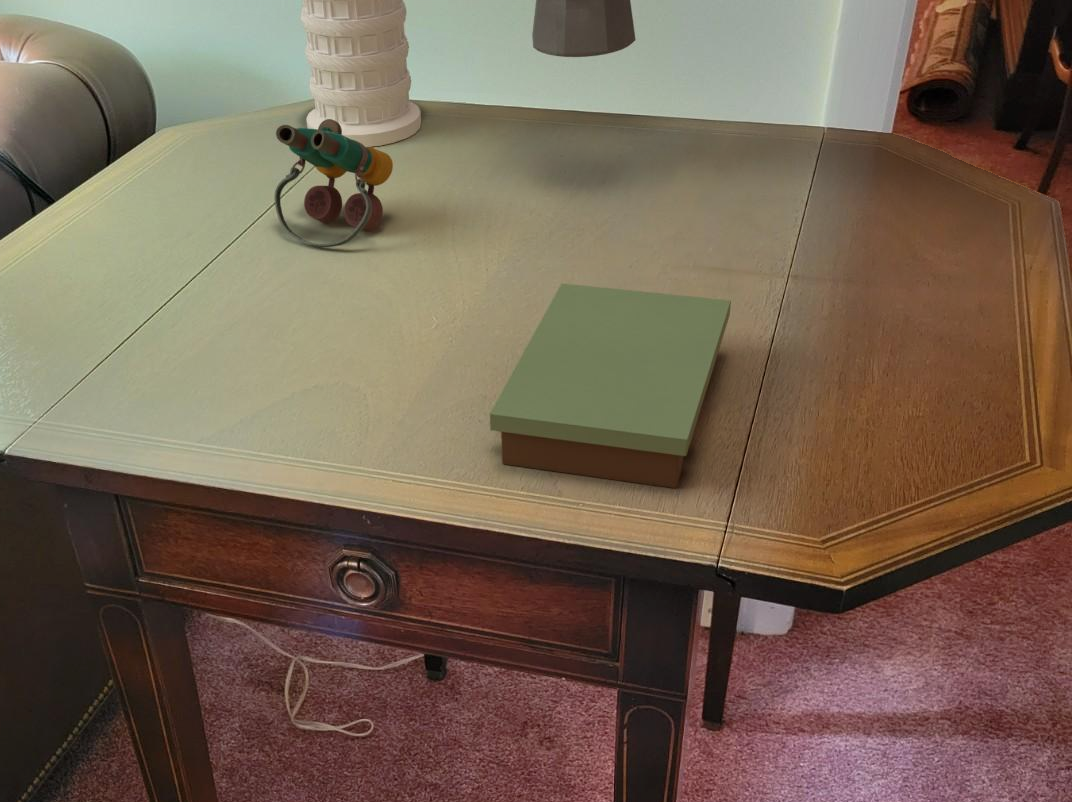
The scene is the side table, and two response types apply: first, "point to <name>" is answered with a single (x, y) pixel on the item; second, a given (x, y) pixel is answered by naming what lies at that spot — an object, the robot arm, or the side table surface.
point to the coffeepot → (582, 27)
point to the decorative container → (360, 69)
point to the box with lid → (611, 384)
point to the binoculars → (335, 176)
